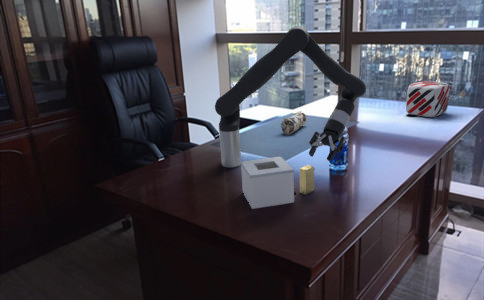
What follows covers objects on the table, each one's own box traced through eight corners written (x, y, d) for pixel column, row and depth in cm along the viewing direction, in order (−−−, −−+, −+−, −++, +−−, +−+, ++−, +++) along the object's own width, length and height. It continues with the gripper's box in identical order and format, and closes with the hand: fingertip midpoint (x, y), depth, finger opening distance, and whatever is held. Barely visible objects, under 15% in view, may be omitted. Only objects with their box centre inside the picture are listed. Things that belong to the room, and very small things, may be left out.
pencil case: (294, 135, 228) (293, 118, 225) (280, 134, 232) (280, 117, 229) (307, 125, 246) (307, 110, 243) (294, 124, 250) (294, 109, 247)
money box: (242, 192, 158) (240, 161, 154) (281, 186, 162) (280, 156, 157) (252, 208, 144) (250, 175, 140) (294, 202, 148) (293, 169, 143)
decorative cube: (418, 109, 269) (421, 79, 263) (449, 113, 255) (452, 82, 248) (403, 114, 258) (405, 83, 251) (433, 119, 243) (437, 86, 236)
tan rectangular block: (299, 192, 156) (299, 168, 152) (307, 188, 159) (307, 164, 156) (305, 194, 153) (305, 170, 150) (314, 190, 157) (314, 166, 153)
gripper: (318, 115, 163) (300, 149, 160) (348, 121, 153) (330, 157, 150) (326, 125, 168) (309, 158, 165) (355, 131, 158) (338, 166, 155)
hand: (319, 157), depth 157 cm, fingers open, 8 cm apart
